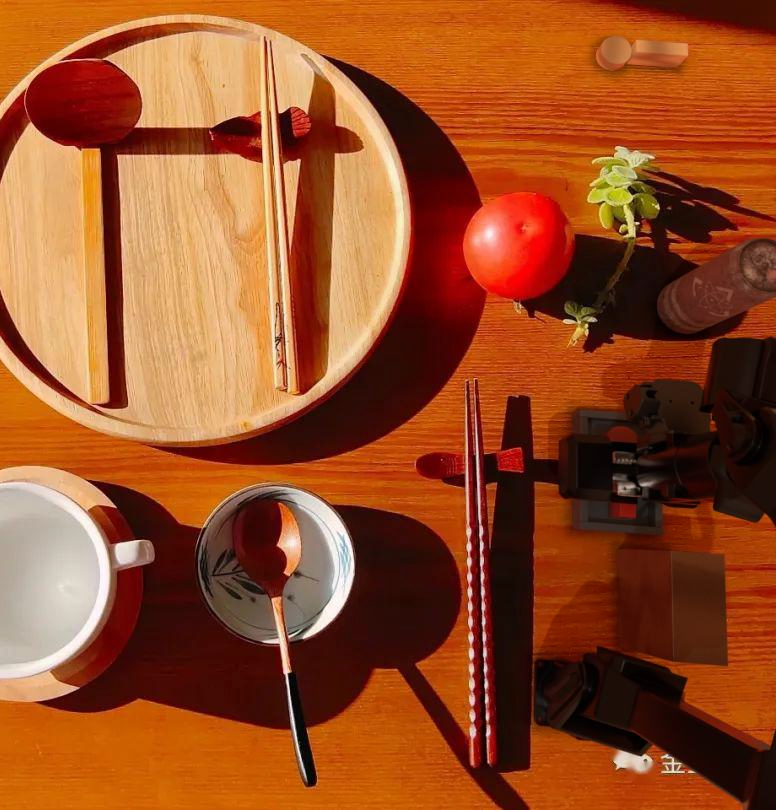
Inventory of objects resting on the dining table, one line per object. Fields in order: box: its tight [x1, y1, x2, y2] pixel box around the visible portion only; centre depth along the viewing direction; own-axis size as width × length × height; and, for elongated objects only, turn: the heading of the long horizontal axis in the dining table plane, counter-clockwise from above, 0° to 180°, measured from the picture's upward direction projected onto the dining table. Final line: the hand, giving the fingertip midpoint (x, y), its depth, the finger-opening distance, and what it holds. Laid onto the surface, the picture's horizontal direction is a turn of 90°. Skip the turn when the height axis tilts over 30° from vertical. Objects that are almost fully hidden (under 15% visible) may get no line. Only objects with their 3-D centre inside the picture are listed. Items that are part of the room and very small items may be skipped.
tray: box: [571, 409, 664, 536], centre depth 81 cm, size 13×9×2 cm
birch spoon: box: [595, 35, 689, 72], centre depth 90 cm, size 10×4×2 cm, turn 86°
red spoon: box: [602, 426, 638, 519], centre depth 80 cm, size 10×4×2 cm, turn 176°
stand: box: [617, 548, 729, 667], centre depth 75 cm, size 10×5×10 cm, turn 176°
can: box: [656, 237, 776, 335], centre depth 79 cm, size 6×6×14 cm
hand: (617, 480), depth 81 cm, fingers closed on red spoon, 1 cm apart
